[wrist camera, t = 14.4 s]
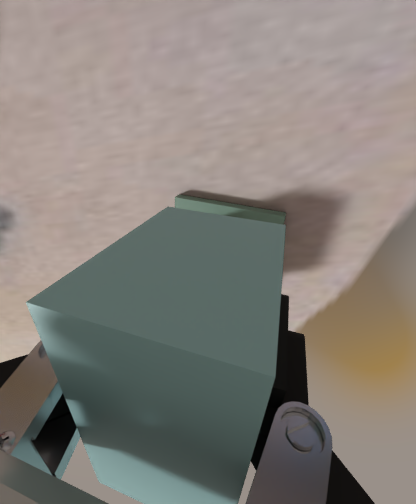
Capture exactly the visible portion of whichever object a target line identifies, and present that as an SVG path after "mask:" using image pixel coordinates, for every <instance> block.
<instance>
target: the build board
mask: <svg viewBox="0 0 416 504" xmlns="http://www.w3.org/2000/svg"><path fill="white" fill-rule="evenodd" d="M175 208H179V209H186V210H192V211H199V212H205V213H212V214H218V215H225V216H231V217H238V218H244V219H250V220H257V221H263V222H270V223H276V224H283V225H284V221H285V217H286V213H285V212H279V211H273V210H267V209H262V208H256V207H250V206H244V205H238V204H233V203H227V202H221V201H215V200H209V199H203V198H198V197H192V196H186V195H180V194H179V195H178V196H176V197H175Z"/></svg>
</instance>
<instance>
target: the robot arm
mask: <svg viewBox="0 0 416 504" xmlns="http://www.w3.org/2000/svg"><path fill="white" fill-rule="evenodd" d="M288 311H289V296H287V295H282V294H281V303H280V317H279V332H278V347H277V361H276V376H275V380H274V384H273V387H272V390H271V394H270V397H269V401H268V404H267V407H266V411H265V414H264V417H263V421H262V424H261V427H260V431H259V434H258V438H257V441H256V444H255V448H254V451H253V454H252V458H251V462H252V464H253V466H254V468H255V469H256V473H255V476H254V480H253V483H252V486H251V489H250V492H249V495H248V498H247V501H246V504H374V502H373V501H372V500H371V498H370V497H369V496H368V494H367V493H366V492H365V491H364V489H363V488H362V487H361V486H360V484H359V483H358V482H357V481H356V479H355V478H354V477H353V476H352V474H351V473H350V472H349V471H348V470H347V468H346V467H345V466H344V465H343V463H342V462H341V461H340V459H339V458H338V457H337V456H336V455H335V453H334V452H333V451H332V436H331V433H330V430H329V428H328V426H327V424H326V422H325V421H324V419H323V418H322V417H321V416H320V415H319V414H318V413H317V412H316V411H315V410H314V409H313V408H311V407H310V406H308V388H307V370H306V352H305V337H304V334H300V333H296V332H292V331H288ZM79 439H80V434H79V432H78V429H77V427H76V424H75V422H74V419H73V417H72V414H71V412H70V409H69V407H68V405H67V402H66V400H65V397H64V395H63V392H62V390H61V387H60V385H59V382H58V380H57V377H56V375H55V373H54V370H53V368H52V365H51V363H50V360H49V358H48V355H47V353H46V350H45V348H44V345H43V343H42V341H40V342H39V343H38V344H37V345H36V346H35V347H34V349H33V350H32V351H31V352H30V353H29V354H28V355H25V356H21V357H18V358H15V359H12V360H8V361H5V362H2V363H0V504H108V503H106V502H104V501H102V500H100V499H98V498H96V497H94V496H92V495H90V494H88V493H86V492H84V491H82V490H80V489H78V488H76V487H74V486H72V485H70V484H68V483H66V482H64V481H62V480H61V478H62V476H63V473H64V471H65V469H66V467H67V465H68V462H69V460H70V458H71V456H72V454H73V452H74V450H75V447H76V445H77V443H78V441H79Z"/></svg>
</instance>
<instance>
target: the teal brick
mask: <svg viewBox="0 0 416 504" xmlns="http://www.w3.org/2000/svg"><path fill="white" fill-rule="evenodd" d="M285 230H286V225H283V224H276V223H270V222H263V221H257V220H250V219H244V218H238V217H231V216H225V215H218V214H212V213H205V212H199V211H192V210H186V209H179V208H173V207H167V208H165V209H164V210H162V211H161V212H159V213H158V214H156V215H155V216H153V217H152V218H150V219H149V220H147V221H146V222H144V223H143V224H141V225H140V226H138V227H137V228H135V229H134V230H133V231H131V232H130V233H128V234H127V235H125V236H124V237H122V238H121V239H119V240H118V241H116V242H115V243H113V244H112V245H110V246H109V247H107V248H106V249H104V250H103V251H101V252H100V253H98V254H97V255H95V256H94V257H92V258H91V259H89V260H88V261H86V262H85V263H84V264H82V265H81V266H79V267H78V268H76V269H75V270H73V271H72V272H70V273H69V274H67V275H66V276H64V277H63V278H61V279H60V280H58V281H57V282H55V283H54V284H52V285H51V286H49V287H48V288H46V289H45V290H43V291H42V292H40V293H39V294H37V295H36V296H34V297H33V298H32V299H30V300H29V301H27V302H26V304H27V306H28V309H29V311H30V313H31V316H32V318H33V321H34V323H35V326H36V328H37V331H38V333H39V336H40V338H41V341H42V343H43V345H44V348H45V350H46V353H47V355H48V358H49V360H50V363H51V365H52V368H53V370H54V373H55V375H56V377H57V380H58V382H59V385H60V387H61V390H62V392H63V395H64V397H65V400H66V402H67V405H68V407H69V409H70V412H71V414H72V417H73V419H74V422H75V424H76V427H77V429H78V432H79V434H80V437H81V438H82V441H83V444H84V446H85V449H86V451H87V454H88V456H89V459H90V461H91V464H92V466H93V469H94V471H95V473H96V476H97V478H98V481H99V482H100V483H102V484H104V485H106V486H108V487H110V488H113V489H115V490H117V491H119V492H121V493H123V494H125V495H127V496H129V497H131V498H133V499H135V500H138V501H140V502H142V503H144V504H238V501H239V498H240V495H241V491H242V488H243V485H244V481H245V478H246V474H247V471H248V468H249V464H250V461H251V458H252V454H253V451H254V448H255V444H256V441H257V438H258V434H259V431H260V427H261V424H262V421H263V417H264V414H265V411H266V407H267V404H268V401H269V397H270V394H271V390H272V387H273V384H274V380H275V376H276V361H277V347H278V332H279V317H280V303H281V288H282V273H283V259H284V244H285Z"/></svg>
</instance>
